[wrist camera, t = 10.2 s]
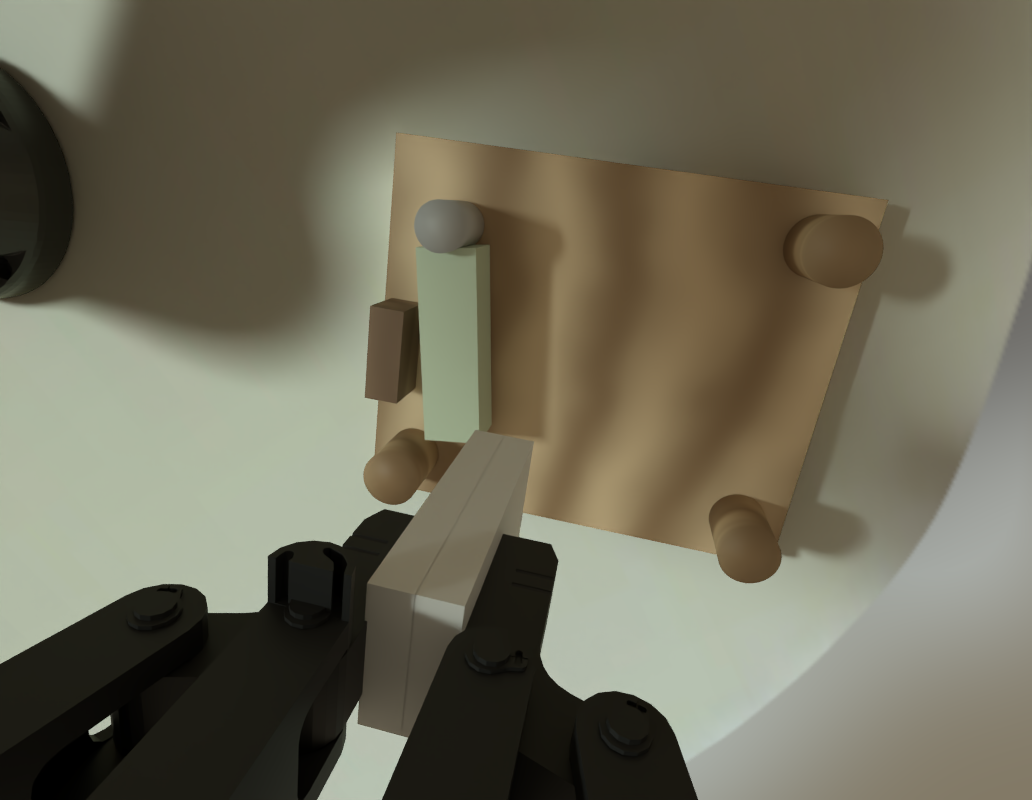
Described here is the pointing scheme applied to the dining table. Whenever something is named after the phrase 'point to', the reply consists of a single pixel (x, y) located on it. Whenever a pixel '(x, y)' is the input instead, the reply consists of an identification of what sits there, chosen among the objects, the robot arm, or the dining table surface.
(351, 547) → the robot arm
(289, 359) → the dining table surface
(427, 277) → the rail
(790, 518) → the dining table surface
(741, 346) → the stool board
